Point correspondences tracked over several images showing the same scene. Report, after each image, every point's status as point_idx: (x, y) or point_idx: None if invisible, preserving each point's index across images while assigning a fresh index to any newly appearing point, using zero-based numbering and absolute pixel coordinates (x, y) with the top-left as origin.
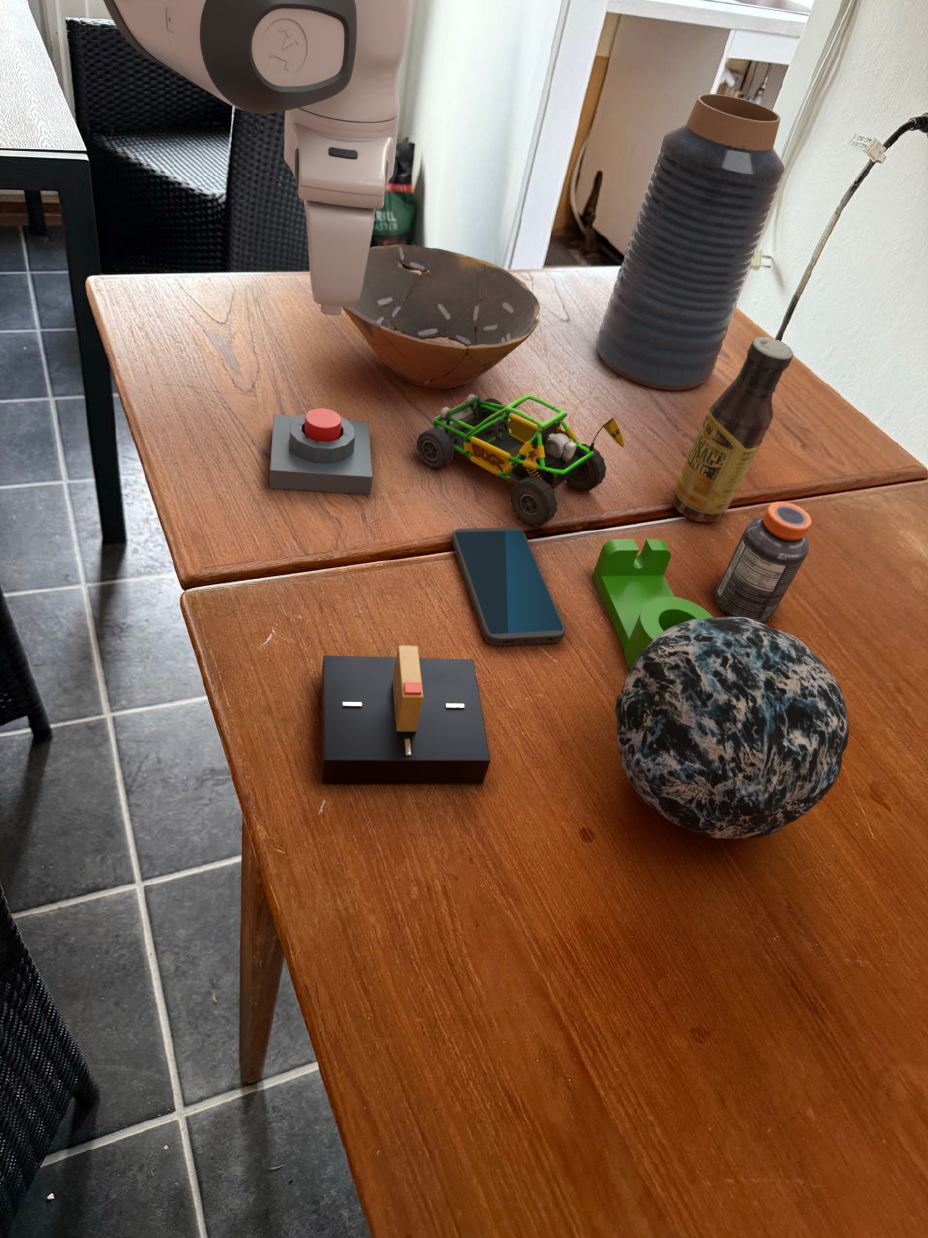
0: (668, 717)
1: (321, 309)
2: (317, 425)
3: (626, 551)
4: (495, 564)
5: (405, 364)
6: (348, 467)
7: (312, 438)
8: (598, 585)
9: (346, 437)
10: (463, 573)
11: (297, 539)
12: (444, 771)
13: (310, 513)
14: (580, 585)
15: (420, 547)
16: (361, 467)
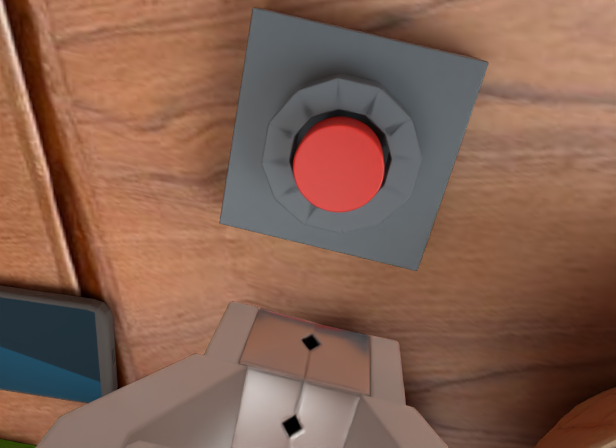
0: None
1: (229, 306)
2: (303, 146)
3: None
4: (21, 340)
5: (573, 416)
6: (253, 185)
7: (310, 128)
8: (8, 445)
9: (303, 206)
10: (11, 289)
11: (99, 35)
12: None
13: (178, 79)
14: (17, 424)
15: (86, 247)
16: (251, 211)
